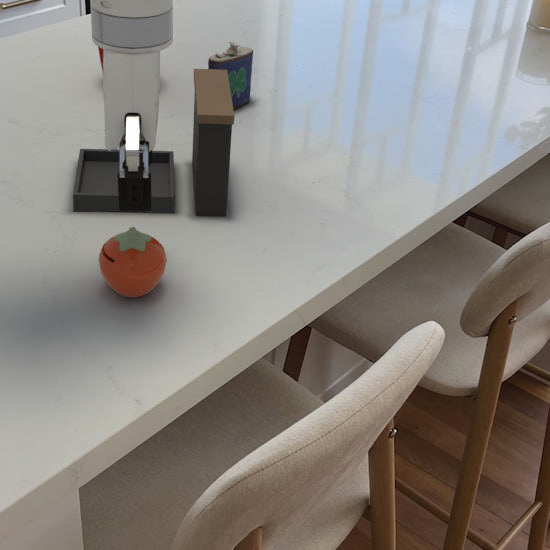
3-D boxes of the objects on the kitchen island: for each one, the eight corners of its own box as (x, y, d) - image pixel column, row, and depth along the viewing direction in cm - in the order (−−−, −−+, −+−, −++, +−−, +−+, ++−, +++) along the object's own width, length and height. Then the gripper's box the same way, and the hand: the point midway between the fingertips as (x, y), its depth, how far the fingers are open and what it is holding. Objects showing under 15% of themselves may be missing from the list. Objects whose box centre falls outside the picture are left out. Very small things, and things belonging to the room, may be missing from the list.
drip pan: (73, 211, 112) (72, 194, 111) (80, 164, 123) (80, 148, 121) (174, 212, 114) (174, 196, 113) (173, 166, 124) (173, 151, 123)
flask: (242, 97, 146) (246, 33, 140) (255, 103, 145) (260, 39, 138) (202, 112, 140) (205, 46, 134) (215, 118, 139) (219, 52, 132)
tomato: (91, 275, 101) (89, 215, 96) (154, 264, 104) (155, 205, 99) (109, 313, 96) (108, 251, 91) (175, 300, 98) (176, 239, 94)
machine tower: (193, 216, 114) (197, 114, 106) (190, 164, 125) (193, 68, 117) (228, 217, 114) (234, 115, 106) (221, 164, 126) (227, 69, 118)
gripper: (96, -6, 89) (104, 147, 99) (84, 58, 75) (94, 229, 85) (171, -4, 90) (171, 148, 100) (174, 60, 76) (173, 229, 86)
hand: (136, 185), depth 92 cm, fingers open, 9 cm apart
